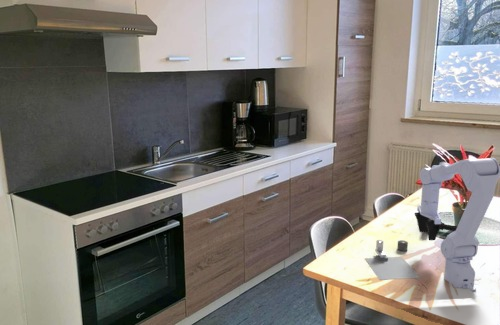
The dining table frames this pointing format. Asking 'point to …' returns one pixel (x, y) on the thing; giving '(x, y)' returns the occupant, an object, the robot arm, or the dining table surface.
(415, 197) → the dining table surface
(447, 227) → the black power drill
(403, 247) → the lid
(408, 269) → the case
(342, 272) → the dining table surface
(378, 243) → the bolt
